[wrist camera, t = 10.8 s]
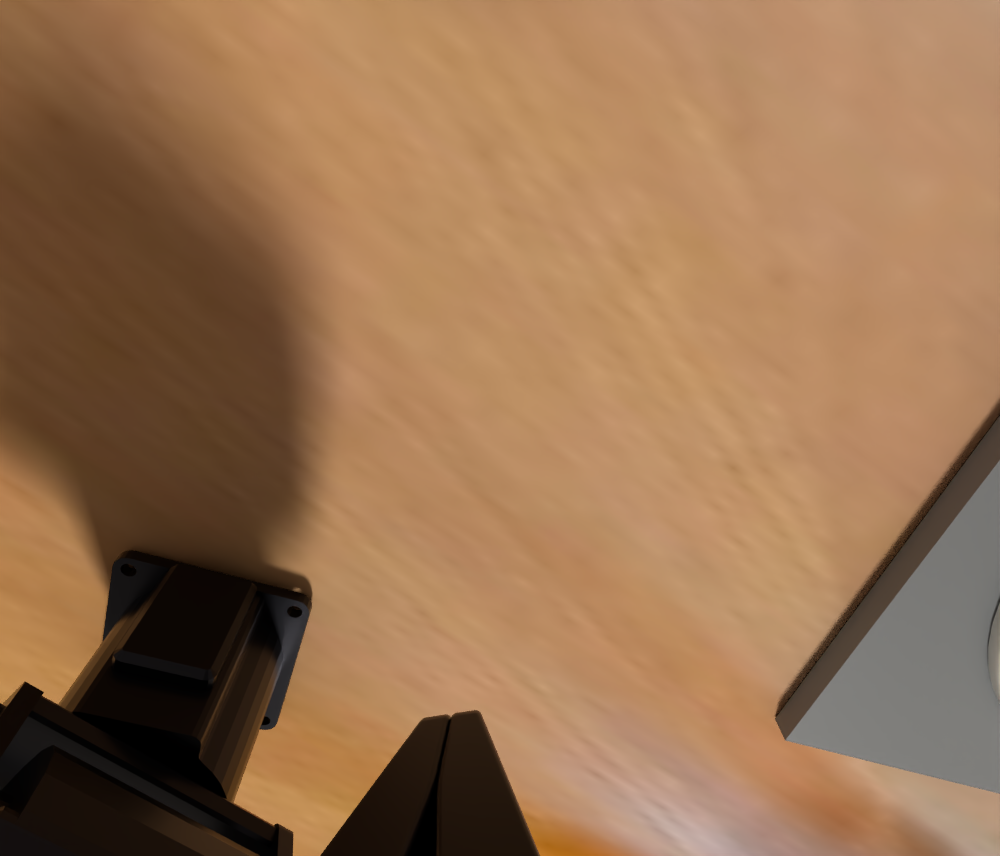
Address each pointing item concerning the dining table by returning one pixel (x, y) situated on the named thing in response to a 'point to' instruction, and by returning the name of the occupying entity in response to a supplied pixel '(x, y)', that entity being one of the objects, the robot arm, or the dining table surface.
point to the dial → (995, 654)
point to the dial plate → (920, 647)
